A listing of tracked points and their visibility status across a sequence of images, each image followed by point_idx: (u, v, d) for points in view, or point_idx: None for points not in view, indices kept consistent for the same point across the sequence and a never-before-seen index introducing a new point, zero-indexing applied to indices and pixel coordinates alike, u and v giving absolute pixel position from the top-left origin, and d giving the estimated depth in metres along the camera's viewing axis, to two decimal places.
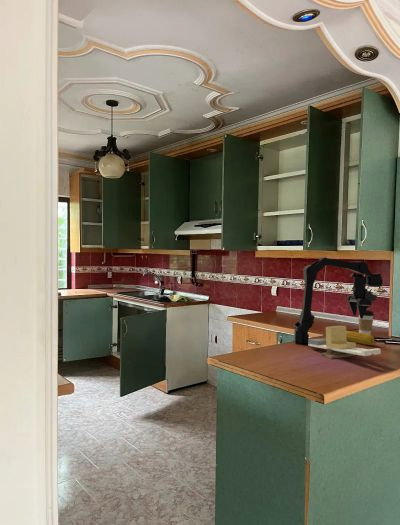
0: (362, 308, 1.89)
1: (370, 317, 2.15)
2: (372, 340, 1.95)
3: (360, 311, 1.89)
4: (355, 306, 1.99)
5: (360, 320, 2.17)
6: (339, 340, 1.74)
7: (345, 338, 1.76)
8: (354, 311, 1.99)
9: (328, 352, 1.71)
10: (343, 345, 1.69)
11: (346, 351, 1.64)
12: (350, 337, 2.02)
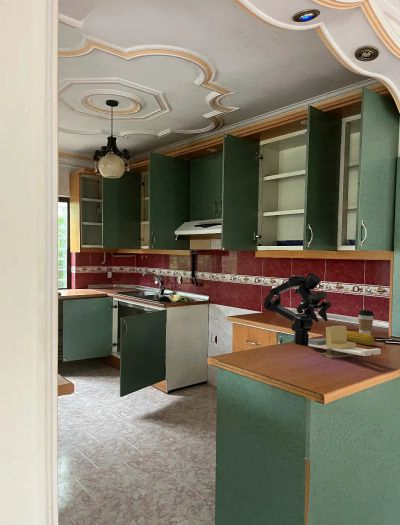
0: (310, 313, 1.85)
1: (370, 317, 2.15)
2: (372, 340, 1.95)
3: (311, 317, 1.84)
4: (322, 312, 1.88)
5: (360, 320, 2.17)
6: (339, 340, 1.74)
7: (345, 338, 1.76)
8: (324, 317, 1.86)
9: (328, 352, 1.71)
10: (343, 345, 1.68)
11: (346, 351, 1.64)
12: (350, 337, 2.02)
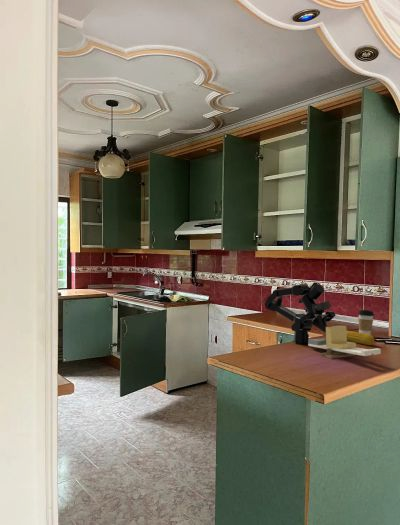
0: (318, 323, 1.83)
1: (370, 317, 2.15)
2: (372, 340, 1.95)
3: (319, 327, 1.83)
4: None
5: (360, 320, 2.17)
6: (339, 340, 1.74)
7: (345, 338, 1.76)
8: None
9: (328, 352, 1.71)
10: (343, 345, 1.68)
11: (346, 351, 1.64)
12: (350, 337, 2.02)
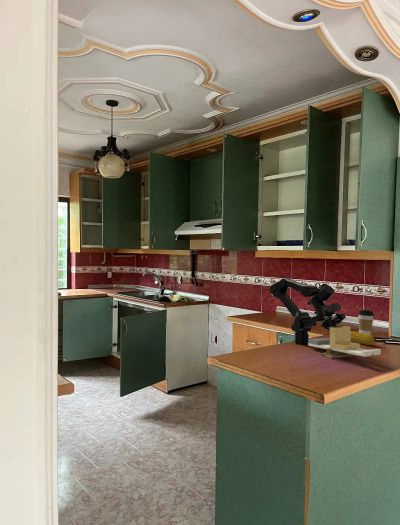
0: (328, 325, 1.78)
1: (370, 317, 2.15)
2: (372, 340, 1.95)
3: (329, 329, 1.78)
4: None
5: (360, 320, 2.17)
6: (343, 341, 1.72)
7: (349, 339, 1.74)
8: None
9: (328, 352, 1.71)
10: (347, 346, 1.67)
11: (346, 351, 1.64)
12: None
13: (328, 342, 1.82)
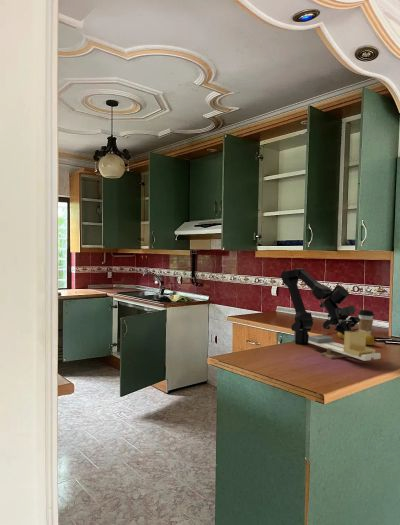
0: (343, 329, 1.71)
1: (370, 317, 2.15)
2: (372, 340, 1.95)
3: (343, 333, 1.70)
4: None
5: None
6: (358, 345, 1.66)
7: (364, 344, 1.67)
8: None
9: (328, 352, 1.71)
10: (362, 352, 1.60)
11: (346, 353, 1.64)
12: None
13: (328, 340, 1.82)
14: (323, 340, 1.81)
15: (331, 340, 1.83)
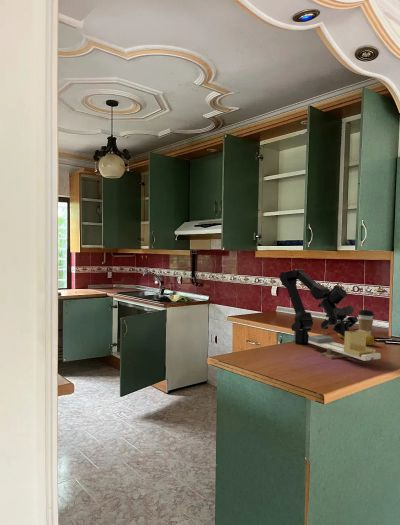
0: (341, 329, 1.72)
1: (370, 317, 2.15)
2: (372, 340, 1.95)
3: (341, 333, 1.71)
4: None
5: (360, 320, 2.17)
6: (358, 345, 1.65)
7: (364, 344, 1.67)
8: None
9: (328, 352, 1.71)
10: (362, 352, 1.60)
11: (346, 353, 1.64)
12: None
13: (328, 340, 1.82)
14: (323, 340, 1.81)
15: (331, 340, 1.83)
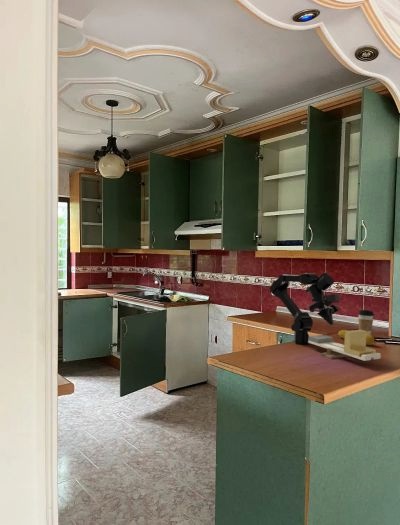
0: (325, 314, 1.80)
1: (370, 317, 2.15)
2: (372, 340, 1.95)
3: (325, 318, 1.80)
4: None
5: (360, 320, 2.17)
6: (358, 346, 1.65)
7: (365, 344, 1.67)
8: None
9: (328, 352, 1.71)
10: (363, 352, 1.60)
11: (346, 353, 1.64)
12: None
13: (328, 340, 1.82)
14: (323, 340, 1.81)
15: (331, 340, 1.83)
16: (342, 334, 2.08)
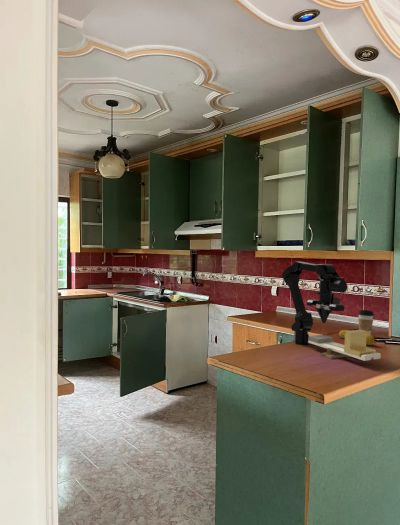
0: (326, 312, 1.81)
1: (370, 317, 2.15)
2: (371, 340, 1.95)
3: (325, 316, 1.81)
4: None
5: (360, 320, 2.17)
6: (358, 346, 1.65)
7: (365, 344, 1.67)
8: None
9: (328, 352, 1.71)
10: (363, 352, 1.59)
11: (346, 353, 1.64)
12: None
13: (328, 340, 1.82)
14: (323, 340, 1.81)
15: (331, 340, 1.83)
16: (342, 334, 2.08)
